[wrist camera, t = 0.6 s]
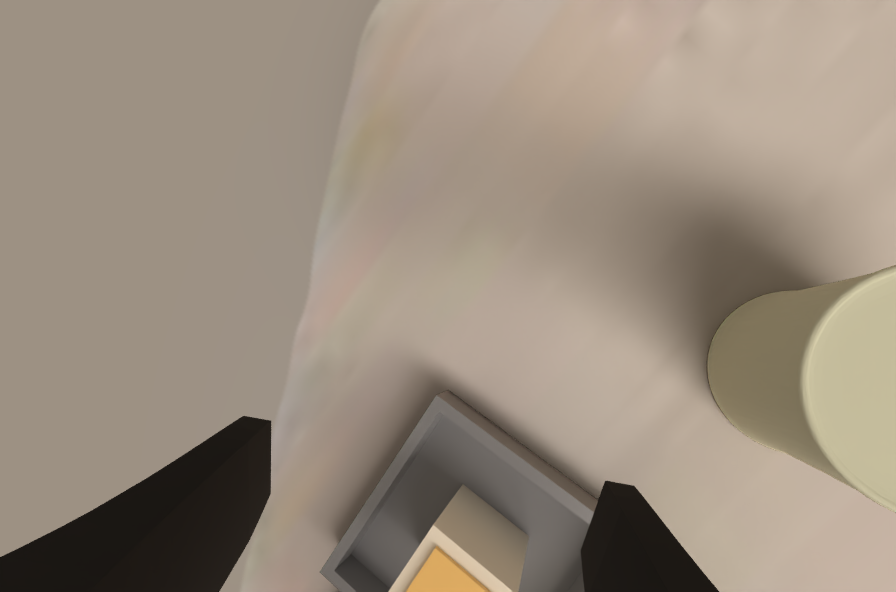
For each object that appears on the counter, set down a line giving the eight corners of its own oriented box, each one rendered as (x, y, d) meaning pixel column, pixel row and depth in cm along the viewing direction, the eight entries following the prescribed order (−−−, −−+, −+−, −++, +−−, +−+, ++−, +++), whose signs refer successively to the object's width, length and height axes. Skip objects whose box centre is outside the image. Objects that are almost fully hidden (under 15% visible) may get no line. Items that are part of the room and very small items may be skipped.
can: (762, 480, 27) (910, 586, 15) (675, 335, 29) (750, 331, 17) (931, 411, 25) (1240, 470, 14) (828, 262, 27) (1025, 202, 15)
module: (528, 536, 29) (517, 598, 22) (484, 601, 29) (458, 684, 22) (462, 484, 30) (431, 527, 23) (420, 547, 31) (376, 608, 23)
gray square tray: (628, 522, 28) (635, 543, 25) (504, 699, 29) (497, 738, 26) (448, 390, 32) (436, 395, 29) (341, 551, 32) (319, 571, 30)
